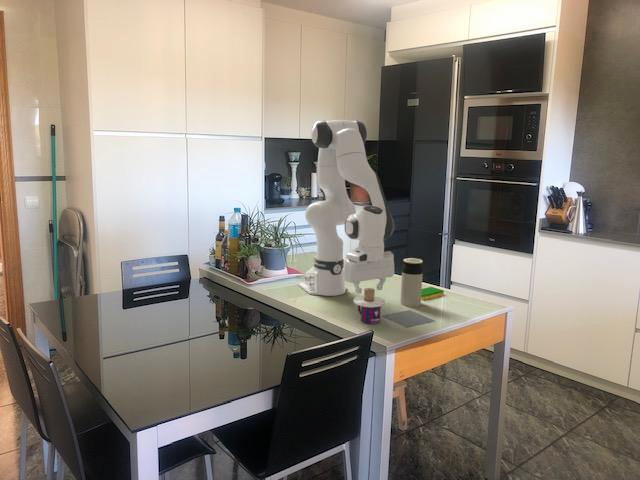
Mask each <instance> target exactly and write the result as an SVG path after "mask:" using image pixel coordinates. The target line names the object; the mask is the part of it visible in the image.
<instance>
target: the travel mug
mask: <svg viewBox="0 0 640 480" xmlns="http://www.w3.org/2000/svg"><path fill="white" fill-rule="evenodd" d="M423 262H424V261H423V260H422V259H421V258H415V257H409V258H404V259H403V265H402V267H401V282H400V283H401V285H400V297H399V299H400V305H402V306H405V307H411V308H414V307H420V306H421V304H422V303H421V302H422V300H421V290H422V289H423V275H424V274H423V271H424V268H423V267H422V265H423Z"/></svg>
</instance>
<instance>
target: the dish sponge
mask: <svg viewBox="0 0 640 480" xmlns="http://www.w3.org/2000/svg"><path fill="white" fill-rule="evenodd" d="M444 293H445V290H443V289H440V288H437V287H433V286H429V287H425V288H422V290H421V301H425V300H429V299H434V298H437V297H441V296H444Z"/></svg>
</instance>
